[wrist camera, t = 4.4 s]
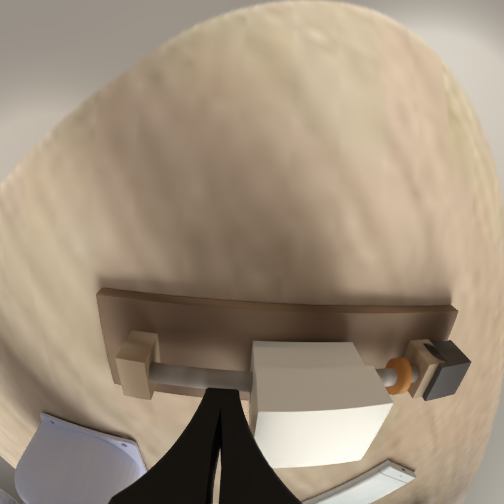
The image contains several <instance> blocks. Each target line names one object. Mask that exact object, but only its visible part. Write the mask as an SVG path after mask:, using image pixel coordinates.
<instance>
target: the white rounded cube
mask: <svg viewBox="0 0 504 504" xmlns="http://www.w3.org/2000/svg"><path fill="white" fill-rule="evenodd" d="M250 371H253V385H252V392H249V428H250V430H251V433H252V435H253V437H254V439H255V441H256V443H257V445H258V447H259V449H260V450H261V452H262V454H263V456H264V457H265V459H266V460H267V462H268V463H269V465H270V466H271V468H290V467H306V466H318V465H328V464H336V463H343V462H350V461H357V460H361V458H362V457H363V455H364V454H365V452H366V450H367V449H368V447H369V446H370V444H371V442H372V441H373V439H374V437H375V436H376V434H377V432H378V431H379V429H380V427H381V425H382V424H383V422H384V420H385V418H386V416H387V415H388V413H389V411H390V409H391V407H392V405H393V403H394V402H393V401H392V399H391V397H390V395H389V393H388V391H387V390H386V388H385V386H384V384H383V382H382V381H381V379H380V377H379V375H378V373H377V372H376V370H375V368H374V366H373V365H370V366H365V364H364V363H363V361H362V359H361V357H360V355H359V353H358V351H357V350H356V348H355V346H354V344H353V342H274V341H253V347H252V356H251V366H250Z"/></svg>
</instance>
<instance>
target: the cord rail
mask: <svg viewBox="0 0 504 504" xmlns="http://www.w3.org/2000/svg"><path fill="white" fill-rule="evenodd" d="M96 296H97V303H98V309H99V315H100V321H101V327H102V332H103V337H104V342H105V347H106V352H107V356H108V360H109V365H110V369H111V373H112V377H113V381H114V383H115V384H119V385H122V389H123V393H124V395H126V396H131V397H136V398H142V399H147V400H151V398H152V395H153V393H154V391H158V392H164V393H171V394H179V395H187V396H195V397H203V396H204V394H205V390H206V389H207V388H208V387H211V388H224V389H237V390H238V391H239V394H240V400H249V392H252V385H253V371H250V366H251V356H252V347H253V341H274V342H353V344H354V346H355V348H356V350H357V351H358V353H359V355H360V357H361V359H362V361H363V363H364V364H365V366H370V365H373V366H374V368H375V370H376V372H377V373H378V375H379V377H380V379H381V381H382V382H383V384H384V386H385V388H386V390H387V391H388V393H389V394H391V395H395V394H402V393H405V392H406V391H408V392H409V393H410V395H411V397H412V398H418V397H423V399H424V400H425V401H428V400H433V399H437V398H441V397H445V396H449V395H453V394H455V392H456V390H457V388H458V387H459V385H460V383H461V381H462V379H463V377H464V376H465V374H466V372H467V370H468V368H469V366H470V364H471V361H470V360H469V359H468V358H467V357H466V356H465V355H464V353H463V352H462V351H461V350H460V349H459V348H458V347H457V346H456V345H455V344H454V343H453V342H452V341H451V340H449V341H447V340H448V337H449V335H450V332H451V330H452V327H453V324H454V322H455V319H456V316H457V314H458V310H456V309H455V308H454V307H453V306H452V305H446V306H329V305H300V304H278V303H260V302H244V301H229V300H216V299H203V298H192V297H181V296H170V295H160V294H151V293H141V292H133V291H124V290H116V289H108V288H102V289H101V290H100V291H99V292H98V293H97V294H96Z"/></svg>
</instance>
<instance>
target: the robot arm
mask: <svg viewBox="0 0 504 504" xmlns="http://www.w3.org/2000/svg"><path fill="white" fill-rule="evenodd" d="M40 418H41V420H42V423H41V424H40V426H39V428H38V429H37V431H36V433H35V434H34V436H33V438H32V439H31V441H30V443H29V445H28V446H27V448H26V450H25V452H24V453H23V455H22V457H21V459H20V460H19V462H18V465H17V468H16V472H15V486H16V490H17V492H18V494H19V496H20V497H21V499H22V500H23V501H25V502H26V503H27V504H213V487H214V480H215V474H216V468H217V462H218V457H219V451H220V452H221V480H220V495H219V504H303V503H301V502H300V501H299V500H298V499H297V498H296V497H295V496H294V495H293V494H292V492H291V491H290V490H289V489H288V488H287V487H286V486H285V484H284V483H283V482H282V481H281V480H280V478H279V477H278V476H277V475H276V473H275V472H274V471H273V469H272V468H271V466H270V465H269V463H268V462H267V460H266V459H265V457H264V456H263V454H262V452H261V450H260V449H259V447H258V445H257V443H256V441H255V439H254V437H253V435H252V433H251V430H250V428H249V425H248V423H247V420H246V418H245V415H244V412H243V408H242V405H241V401H240V394H239V391H238V390H237V389H224V388H211V387H208V388H207V389H206V390H205V394H204V396H203V399H202V401H201V403H200V405H199V407H198V409H197V411H196V412H195V414H194V416H193V418H192V419H191V421H190V423H189V424H188V426H187V427H186V429H185V430H184V431H183V433H182V434H181V436H180V437H179V438H178V440H177V441H176V442H175V444H174V445H173V446H172V447H171V448H170V450H169V451H168V452H167V453H166V454H165V455H164V456H163V457H162V458H161V459H160V460H159V461H158V462H157V463H156V464H155V465H154V466H153V467H152V468H151V469H150V470H149V471H147V469H146V467H145V464H144V461H143V459H142V456H141V454H140V451H139V448H138V445H137V444H136V443H135V442H134V441H132V440H129V439H124V438H120V437H116V436H112V435H108V434H105V433H101V432H98V431H94V430H91V429H88V428H85V427H81V426H78V425H75V424H72V423H69V422H67V421H64V420H61V419H58V418H56V417H53V416H51V415H48V414H45V413H41V414H40ZM0 504H18V503H17V501H16V500H15V499H13V498H12V497H11V496H10V495H8V494H7V493H6V492H4V491H3V490H1V489H0Z"/></svg>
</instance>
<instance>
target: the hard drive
mask: <svg viewBox="0 0 504 504" xmlns="http://www.w3.org/2000/svg"><path fill="white" fill-rule="evenodd" d="M414 478H416V475H415V473H414V472H413V471H410V470H408V469H406V468H404V467H402V466H400V465H397V464H395V463H393V462H391V461H389V460H387V461H385V462H384V463H382V464H380V465H378V466H377V467H375V468H373V469H371V470H370V471H368V472H366V473H364V474H362V475H360V476H359V477H357V478H355V479H353V480H351V481H349V482H347V483H345V484H343V485H341V486H339V487H336V488H334V489H332V490H330V491H328V492H325V493H323V494H321V495H318V496H316V497H314V498H311V499H309V500H306V501H304V502H301V503H303V504H369V503H371V502H373V501H375V500H377V499H379V498H381V497H383V496H385V495H387V494H389V493H391V492H393V491H394V490H396V489H398V488H400V487H401V486H403V485H405V484H407V483H408V482H410V481H411V480H413V479H414Z"/></svg>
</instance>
